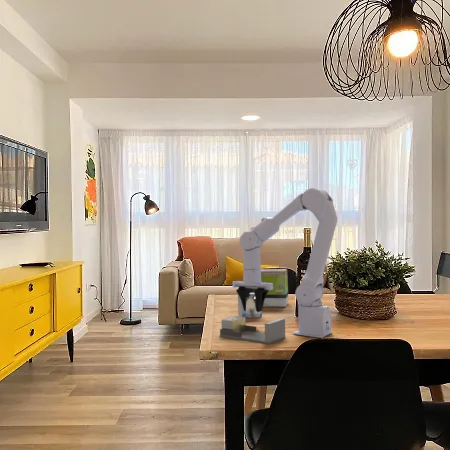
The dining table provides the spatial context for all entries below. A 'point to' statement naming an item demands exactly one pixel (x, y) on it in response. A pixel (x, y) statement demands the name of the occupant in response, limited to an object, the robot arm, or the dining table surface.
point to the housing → (251, 307)
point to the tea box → (275, 287)
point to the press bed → (271, 335)
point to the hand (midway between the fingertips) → (252, 310)
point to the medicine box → (241, 311)
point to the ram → (234, 323)
